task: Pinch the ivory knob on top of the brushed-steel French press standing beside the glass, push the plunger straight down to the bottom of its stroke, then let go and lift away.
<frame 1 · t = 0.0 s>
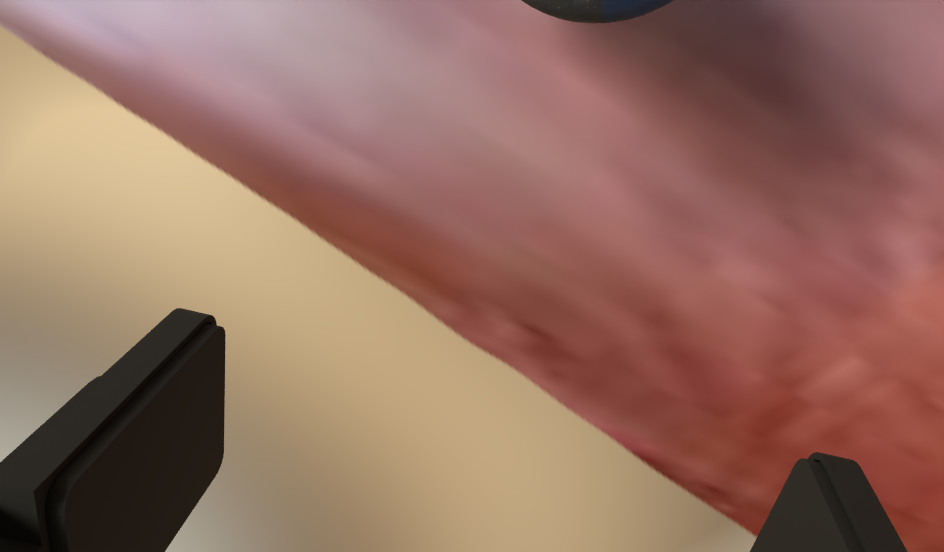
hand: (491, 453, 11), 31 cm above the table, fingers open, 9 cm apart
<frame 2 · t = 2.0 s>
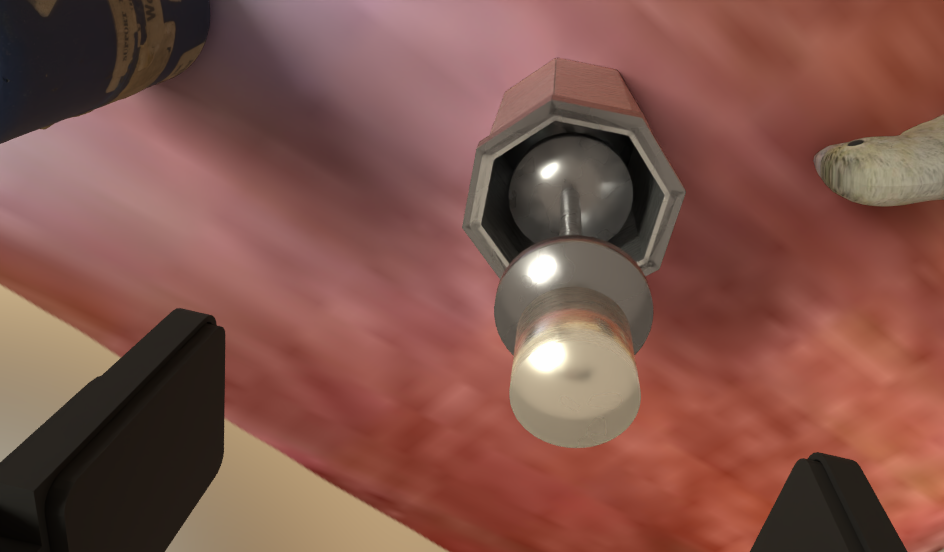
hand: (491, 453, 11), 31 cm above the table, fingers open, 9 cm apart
plunger: (571, 265, 25), point 17 cm above the table, slide at 0.0 cm
press carafe: (568, 135, 40), on the table
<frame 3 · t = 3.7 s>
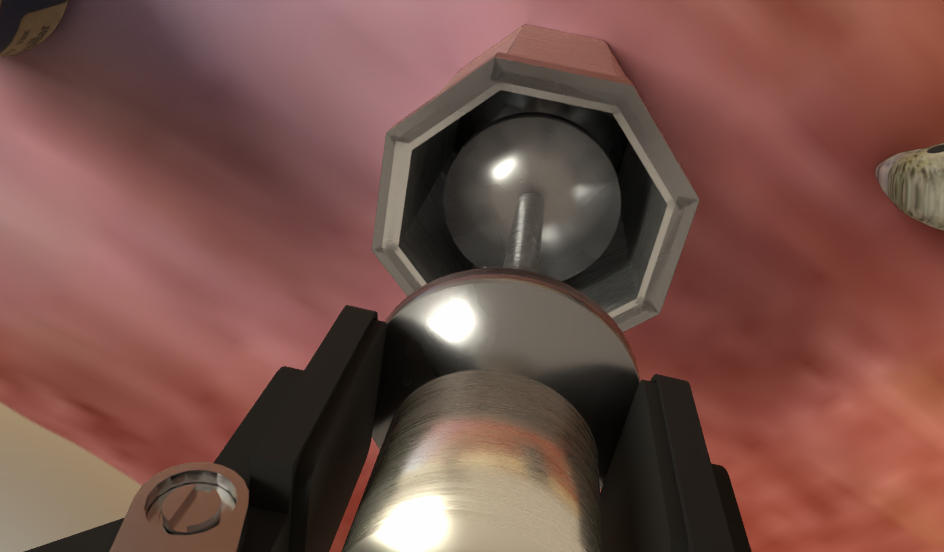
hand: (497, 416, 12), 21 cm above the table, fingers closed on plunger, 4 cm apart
plunger: (513, 313, 15), point 17 cm above the table, slide at 0.1 cm, touching gripper
press carafe: (542, 129, 31), on the table
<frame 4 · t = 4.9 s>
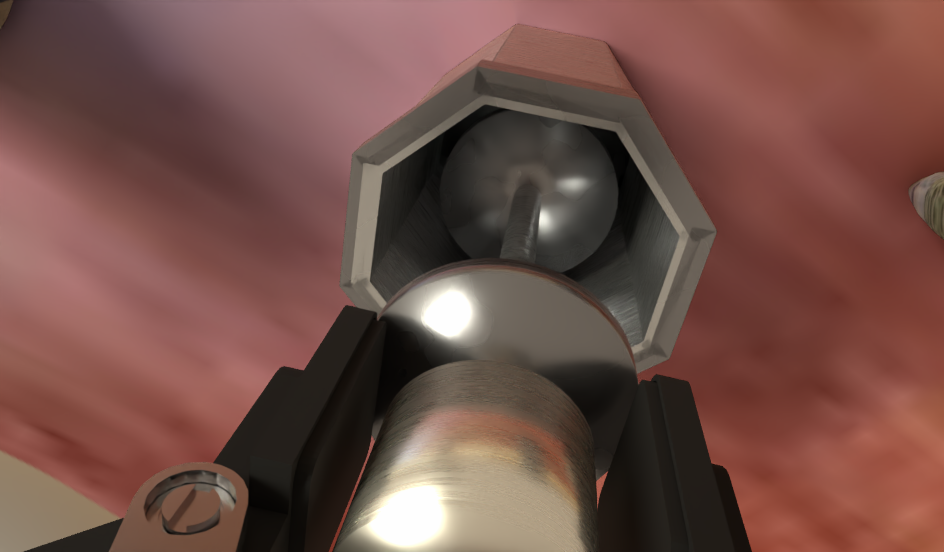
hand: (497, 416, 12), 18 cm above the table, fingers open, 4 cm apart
plunger: (509, 305, 15), point 14 cm above the table, slide at 3.1 cm, touching gripper
press carafe: (537, 138, 28), on the table
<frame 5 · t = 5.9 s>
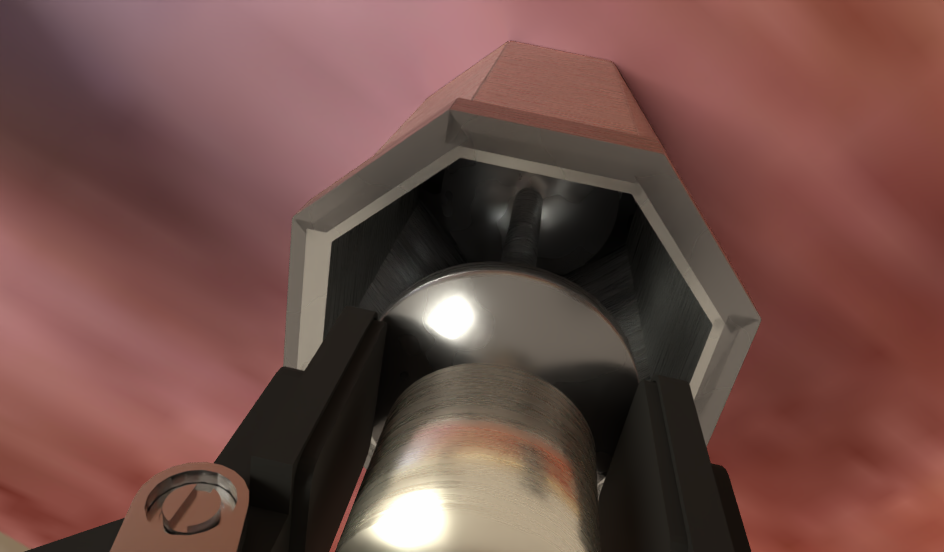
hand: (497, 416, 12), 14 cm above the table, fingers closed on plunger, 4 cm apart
plunger: (511, 308, 15), point 10 cm above the table, slide at 7.2 cm, touching gripper
press carafe: (533, 171, 24), on the table
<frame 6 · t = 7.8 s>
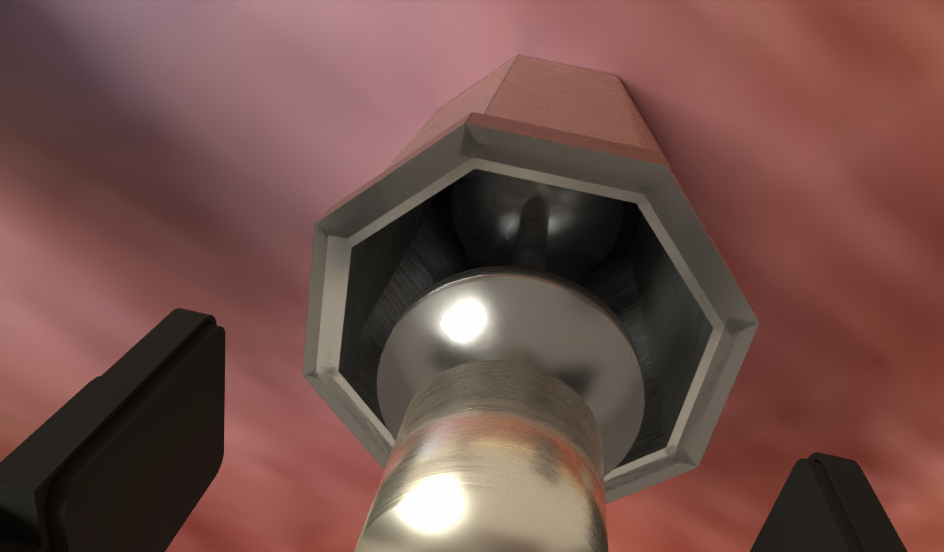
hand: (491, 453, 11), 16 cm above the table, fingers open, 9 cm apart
plunger: (520, 311, 16), point 10 cm above the table, slide at 7.2 cm
press carafe: (540, 181, 25), on the table
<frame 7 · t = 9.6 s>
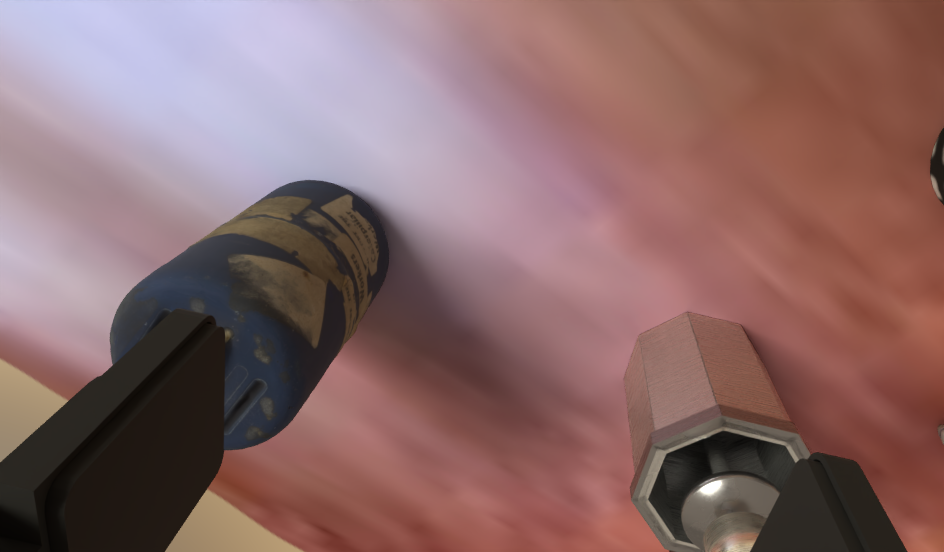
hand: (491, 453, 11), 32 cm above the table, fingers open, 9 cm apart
plunger: (721, 472, 36), point 10 cm above the table, slide at 7.2 cm
press carafe: (692, 372, 46), on the table
canister: (326, 241, 46), on the table
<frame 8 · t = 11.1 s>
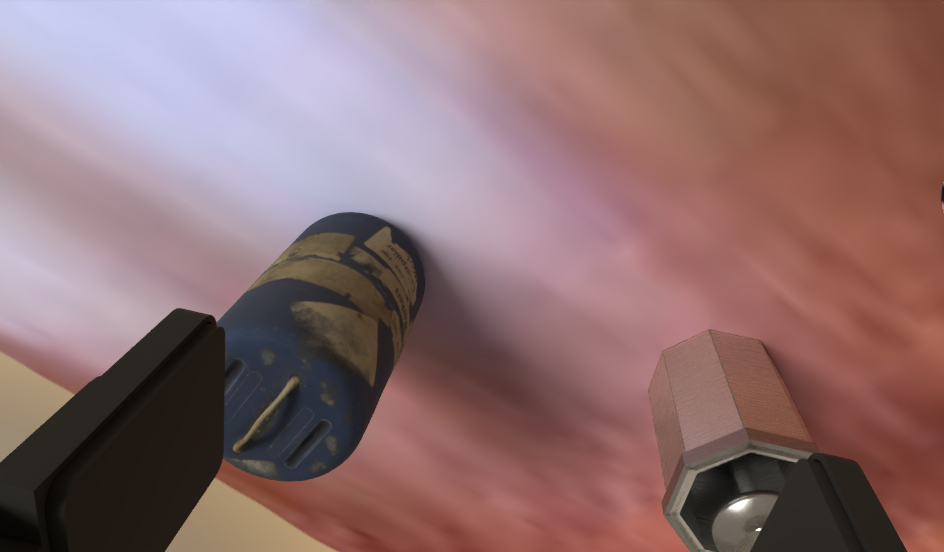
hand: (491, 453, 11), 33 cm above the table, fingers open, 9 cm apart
plunger: (746, 486, 39), point 10 cm above the table, slide at 7.2 cm
press carafe: (713, 384, 48), on the table
canister: (363, 267, 48), on the table
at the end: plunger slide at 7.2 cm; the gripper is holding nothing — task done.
